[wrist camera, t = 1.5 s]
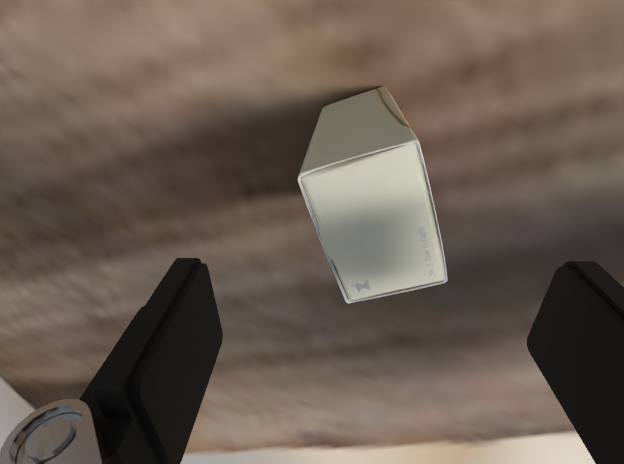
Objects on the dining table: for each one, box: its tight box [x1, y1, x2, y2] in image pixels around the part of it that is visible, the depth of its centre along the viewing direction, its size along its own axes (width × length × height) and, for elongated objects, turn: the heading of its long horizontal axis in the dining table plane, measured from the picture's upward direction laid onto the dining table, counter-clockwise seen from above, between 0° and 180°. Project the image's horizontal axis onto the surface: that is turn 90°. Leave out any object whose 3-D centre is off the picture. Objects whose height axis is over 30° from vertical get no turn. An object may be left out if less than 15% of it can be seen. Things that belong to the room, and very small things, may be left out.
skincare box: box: [298, 86, 447, 304], centre depth 18 cm, size 6×4×12 cm
